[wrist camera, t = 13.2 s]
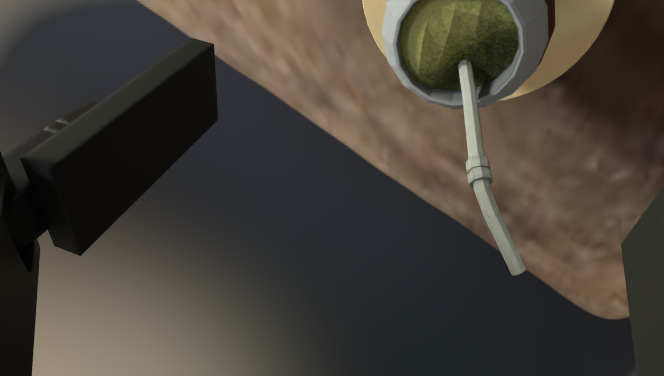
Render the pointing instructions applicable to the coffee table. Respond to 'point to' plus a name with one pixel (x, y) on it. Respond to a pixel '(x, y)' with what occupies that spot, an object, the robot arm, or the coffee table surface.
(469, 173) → the mate gourd
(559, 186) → the coffee table surface
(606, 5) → the jar
